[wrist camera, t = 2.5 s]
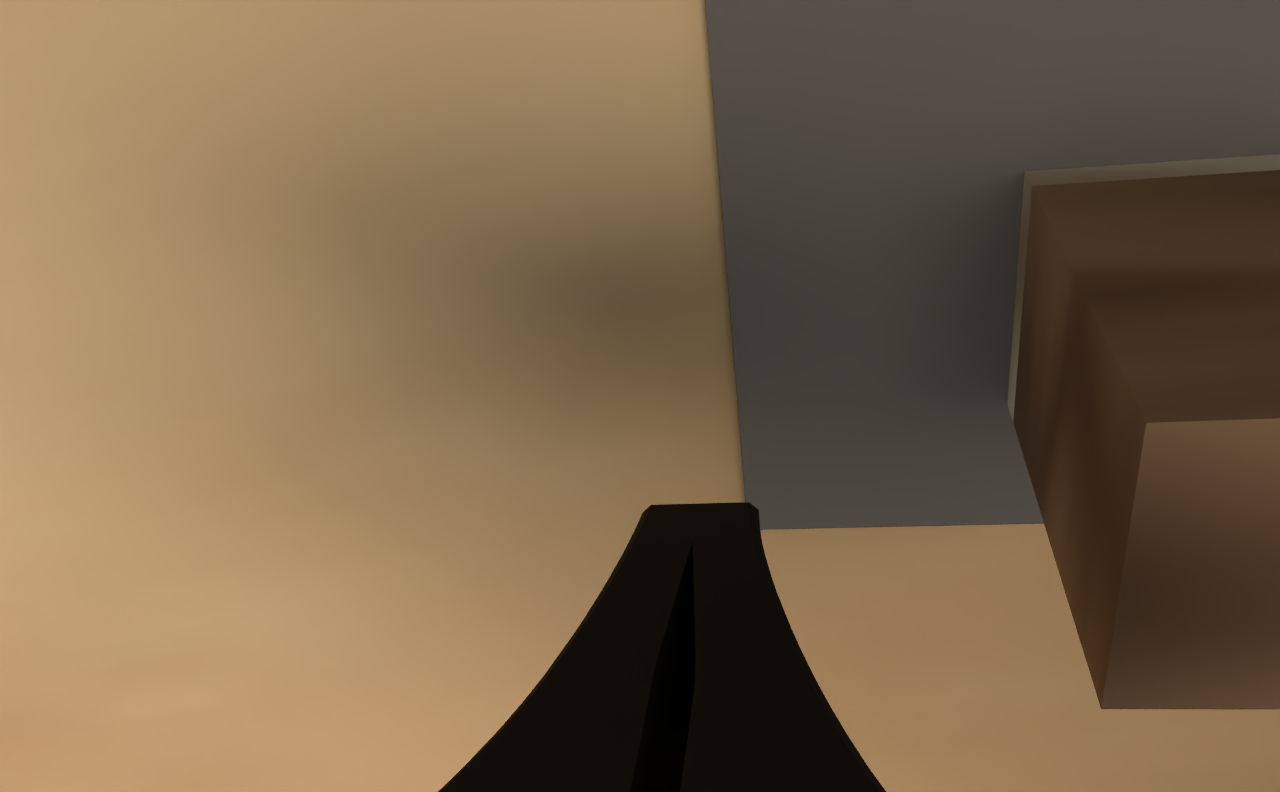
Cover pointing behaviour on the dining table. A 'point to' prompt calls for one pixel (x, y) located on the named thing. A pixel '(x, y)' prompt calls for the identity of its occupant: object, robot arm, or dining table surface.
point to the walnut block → (1157, 420)
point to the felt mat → (932, 219)
